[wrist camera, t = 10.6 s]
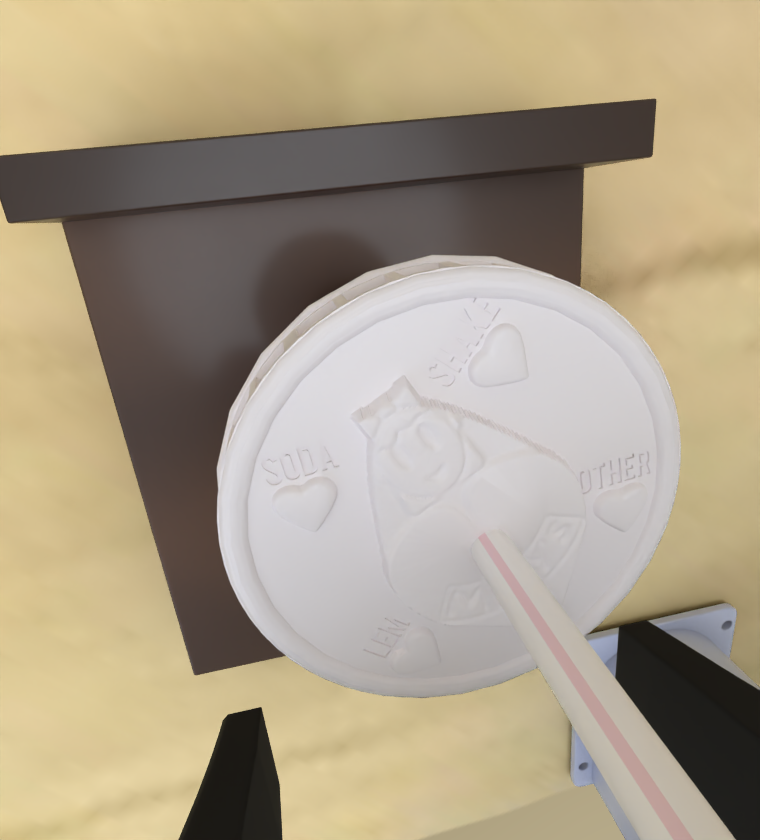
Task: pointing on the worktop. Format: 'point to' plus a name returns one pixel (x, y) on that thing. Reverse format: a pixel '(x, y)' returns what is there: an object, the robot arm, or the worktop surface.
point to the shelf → (283, 274)
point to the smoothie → (461, 499)
